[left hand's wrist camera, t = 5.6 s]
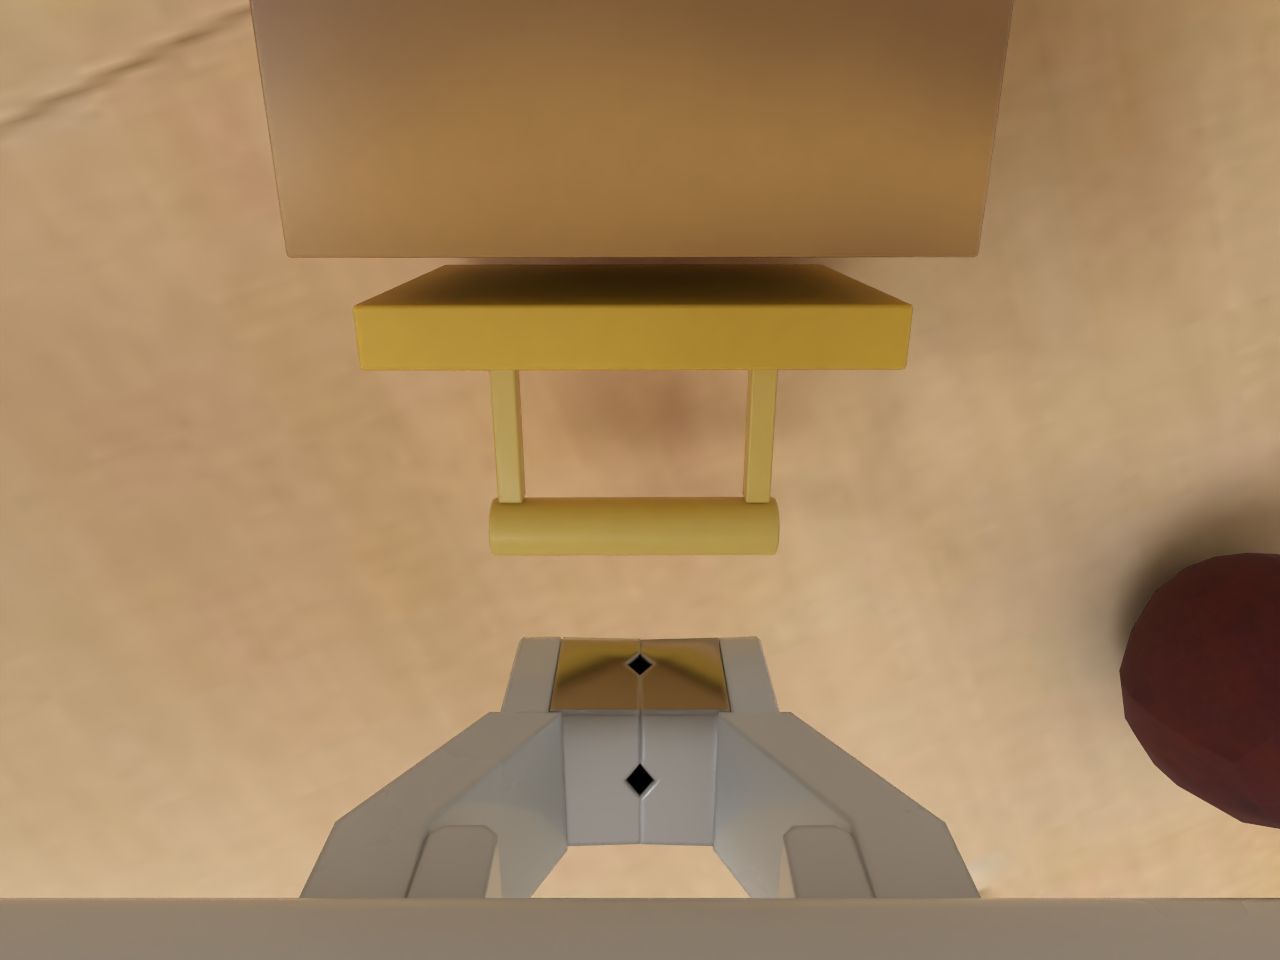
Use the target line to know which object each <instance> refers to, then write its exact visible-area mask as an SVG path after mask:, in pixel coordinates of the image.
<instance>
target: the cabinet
mask: <svg viewBox="0 0 1280 960" xmlns="http://www.w3.org/2000/svg"><path fill="white" fill-rule="evenodd" d="M1013 2H1014V0H250V7H251V14H252V21H253V28H254V34H255V41H256V48H257V55H258V62H259V68H260V75H261V82H262V89H263V96H264V103H265V109H266V116H267V123H268V130H269V137H270V143H271V150H272V157H273V164H274V171H275V177H276V184H277V191H278V198H279V205H280V211H281V218H282V225H283V232H284V239H285V246H286V252H287V255H288V257H291V258H419V257H975V256H977V255H978V251H979V244H980V237H981V230H982V222H983V215H984V208H985V201H986V194H987V187H988V180H989V173H990V165H991V158H992V151H993V144H994V137H995V130H996V123H997V116H998V108H999V101H1000V94H1001V87H1002V80H1003V73H1004V66H1005V59H1006V51H1007V44H1008V37H1009V30H1010V23H1011V16H1012V9H1013Z"/></svg>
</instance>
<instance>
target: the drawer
mask: <svg viewBox="0 0 1280 960" xmlns="http://www.w3.org/2000/svg"><path fill="white" fill-rule="evenodd" d="M353 312H354V321H355V329H356V337H357V345H358V353H359V362H360V367H361V369H363V370H490V381H491V396H492V411H493V426H494V442H495V457H496V472H497V487H498V498H495V499H493V501H492V504H491V508H490V516H489V540H490V547H491V551H492V553H493V555H495V556H570V555H774V554H775V553H776V551H777V548H778V543H779V512H778V506H777V502H776V500H775V498H773V497H770V491H771V474H772V458H773V441H774V424H775V408H776V391H777V374H778V370H901V369H904V368H905V367H906V363H907V355H908V346H909V337H910V329H911V320H912V312H913V308H912V305H910V304H908V303H906V302H903V301H901V300H899V299H897V298H895V297H892V296H890V295H888V294H886V293H883V292H881V291H879V290H877V289H874V288H872V287H870V286H868V285H866V284H863V283H861V282H859V281H857V280H854V279H852V278H850V277H848V276H846V275H843V274H841V273H839V272H837V271H834V270H832V269H830V268H828V267H825V266H823V265H444V266H442V267H440V268H438V269H435V270H433V271H431V272H429V273H426V274H424V275H422V276H420V277H417V278H415V279H413V280H411V281H409V282H406V283H404V284H402V285H400V286H397V287H395V288H393V289H391V290H388V291H386V292H384V293H382V294H380V295H377V296H375V297H373V298H371V299H368V300H366V301H364V302H362V303H359V304H357V305H355V306H354V308H353ZM519 370H749V373H748V394H747V415H746V436H745V458H744V479H743V495H744V497H599V498H524V496H525V476H524V457H523V438H522V420H521V401H520V382H519Z"/></svg>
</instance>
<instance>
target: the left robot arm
mask: <svg viewBox="0 0 1280 960" xmlns="http://www.w3.org/2000/svg"><path fill="white" fill-rule="evenodd" d="M619 844H659V845H695V846H713V850H714V851H715V853H716V854H717V855H718V857H719V858H720V859H721V860H722V862H723V863H724V864H725V866H726V867H727V868H728V869H729V871H730V872H731V873H732V874H733V876H734V877H735V878H736V880H737V881H738V882H739V883H740V885H741V886H742V887H743V889H744V890H745V891H746V892H747V894H748V895H749V896H750V898H530V897H531V896H532V894H533V893H534V892H535V890H536V889H537V888H538V887H539V885H540V884H541V883H542V882H543V880H544V879H545V878H546V876H547V875H548V874H549V873H550V871H551V870H552V869H553V868H554V866H555V865H556V864H557V862H558V861H559V860H560V859H561V857H562V856H563V855H564V854H565V852H566V851H567V846H584V845H619ZM0 960H1280V898H981V897H980V895H979V893H978V891H977V889H976V886H975V884H974V882H973V880H972V878H971V876H970V874H969V872H968V870H967V867H966V865H965V863H964V861H963V859H962V857H961V855H960V853H959V851H958V849H957V846H956V844H955V842H954V840H953V838H952V836H951V834H950V832H949V830H948V828H947V825H946V823H945V822H943V821H942V820H940V819H939V818H938V817H936V816H935V815H933V814H932V813H931V812H929V811H928V810H926V809H925V808H924V807H922V806H921V805H919V804H918V803H917V802H915V801H914V800H913V799H911V798H910V797H908V796H907V795H906V794H904V793H903V792H901V791H900V790H899V789H897V788H896V787H894V786H893V785H892V784H890V783H889V782H887V781H886V780H885V779H883V778H882V777H880V776H879V775H878V774H876V773H875V772H873V771H872V770H871V769H869V768H868V767H866V766H865V765H864V764H862V763H861V762H860V761H858V760H857V759H855V758H854V757H853V756H851V755H850V754H848V753H847V752H846V751H844V750H843V749H841V748H840V747H839V746H837V745H836V744H834V743H833V742H832V741H830V740H829V739H827V738H826V737H825V736H823V735H822V734H820V733H819V732H818V731H816V730H815V729H813V728H812V727H811V726H809V725H808V724H807V723H805V722H804V721H802V720H801V719H800V718H798V717H797V716H795V715H794V714H793V713H791V712H779V708H778V705H777V701H776V697H775V693H774V690H773V686H772V682H771V679H770V675H769V671H768V667H767V664H766V660H765V656H764V653H763V649H762V645H761V641H760V639H758V638H757V637H732V638H692V639H652V640H640V639H619V638H567V637H563V639H561V637H524V638H523V639H522V640H521V641H520V642H519V644H518V648H517V652H516V656H515V659H514V663H513V667H512V671H511V674H510V678H509V682H508V686H507V689H506V693H505V697H504V701H503V704H502V708H501V712H489V713H488V714H486V715H485V716H483V717H482V718H480V719H479V720H478V721H476V722H475V723H473V724H472V725H471V726H469V727H468V728H466V729H465V730H464V731H462V732H461V733H459V734H458V735H457V736H455V737H454V738H452V739H451V740H450V741H448V742H447V743H445V744H444V745H443V746H441V747H440V748H438V749H437V750H436V751H434V752H433V753H431V754H430V755H429V756H427V757H426V758H424V759H423V760H422V761H420V762H419V763H417V764H416V765H415V766H413V767H412V768H410V769H409V770H408V771H406V772H405V773H403V774H402V775H401V776H399V777H398V778H396V779H395V780H394V781H392V782H391V783H389V784H388V785H387V786H385V787H384V788H382V789H381V790H380V791H378V792H377V793H375V794H374V795H373V796H371V797H370V798H368V799H367V800H366V801H364V802H363V803H361V804H360V805H359V806H357V807H356V808H354V809H353V810H352V811H350V812H349V813H347V814H346V815H345V816H343V817H342V818H340V819H339V820H338V821H336V822H335V824H334V826H333V828H332V831H331V833H330V835H329V837H328V839H327V841H326V843H325V845H324V847H323V849H322V851H321V853H320V855H319V857H318V860H317V862H316V864H315V866H314V868H313V870H312V872H311V874H310V876H309V878H308V880H307V882H306V884H305V887H304V889H303V891H302V893H301V895H300V897H299V898H0Z"/></svg>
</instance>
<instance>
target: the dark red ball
mask: <svg viewBox="0 0 1280 960" xmlns="http://www.w3.org/2000/svg"><path fill="white" fill-rule="evenodd" d="M1120 679H1121V687H1122V695H1123V704H1124V713H1125V719H1126V720H1127V722H1128V724H1129V725H1130V727H1131V729H1132V730H1133V732H1134V734H1135V735H1136V737H1137V739H1138V740H1139V742H1140V743H1141V745H1142V746H1143V748H1144V749H1145V751H1146V752H1147V754H1148V756H1149V757H1150V759H1151V760H1152V762H1153V763H1154V765H1156V766H1157V767H1158V768H1159V769H1160V770H1161V771H1162V772H1163V773H1164V774H1165V775H1167V776H1168V777H1169V778H1170V779H1171V780H1172V781H1173V782H1174V783H1175V784H1176V785H1178V786H1179V787H1181V788H1183V789H1185V790H1186V791H1188V792H1190V793H1192V794H1194V795H1195V796H1197V797H1199V798H1201V799H1202V800H1204V801H1206V802H1208V803H1209V804H1211V805H1213V806H1215V807H1216V808H1218V809H1220V810H1222V811H1223V812H1225V813H1227V814H1229V815H1230V816H1232V817H1234V818H1236V819H1238V820H1239V821H1241V822H1244V823H1250V824H1255V825H1261V826H1267V827H1273V828H1278V829H1280V555H1278V554H1260V553H1243V554H1235V555H1227V556H1219V557H1214V558H1211V559H1208V560H1206V561H1203V562H1200V563H1198V564H1195V565H1192V566H1189V567H1187V568H1185V569H1183V570H1182V571H1181V572H1180V573H1178V574H1177V575H1176V576H1175V577H1173V578H1172V579H1171V580H1169V581H1168V582H1167V583H1166V584H1164V585H1163V586H1162V587H1161V588H1159V589H1158V590H1157V591H1156V592H1155V593H1154V595H1153V596H1152V598H1151V600H1150V601H1149V603H1148V604H1147V606H1146V608H1145V609H1144V611H1143V612H1142V614H1141V616H1140V617H1139V619H1138V620H1137V622H1136V624H1135V625H1134V627H1133V628H1132V631H1131V634H1130V637H1129V641H1128V644H1127V647H1126V651H1125V654H1124V657H1123V661H1122V664H1121V667H1120Z"/></svg>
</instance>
